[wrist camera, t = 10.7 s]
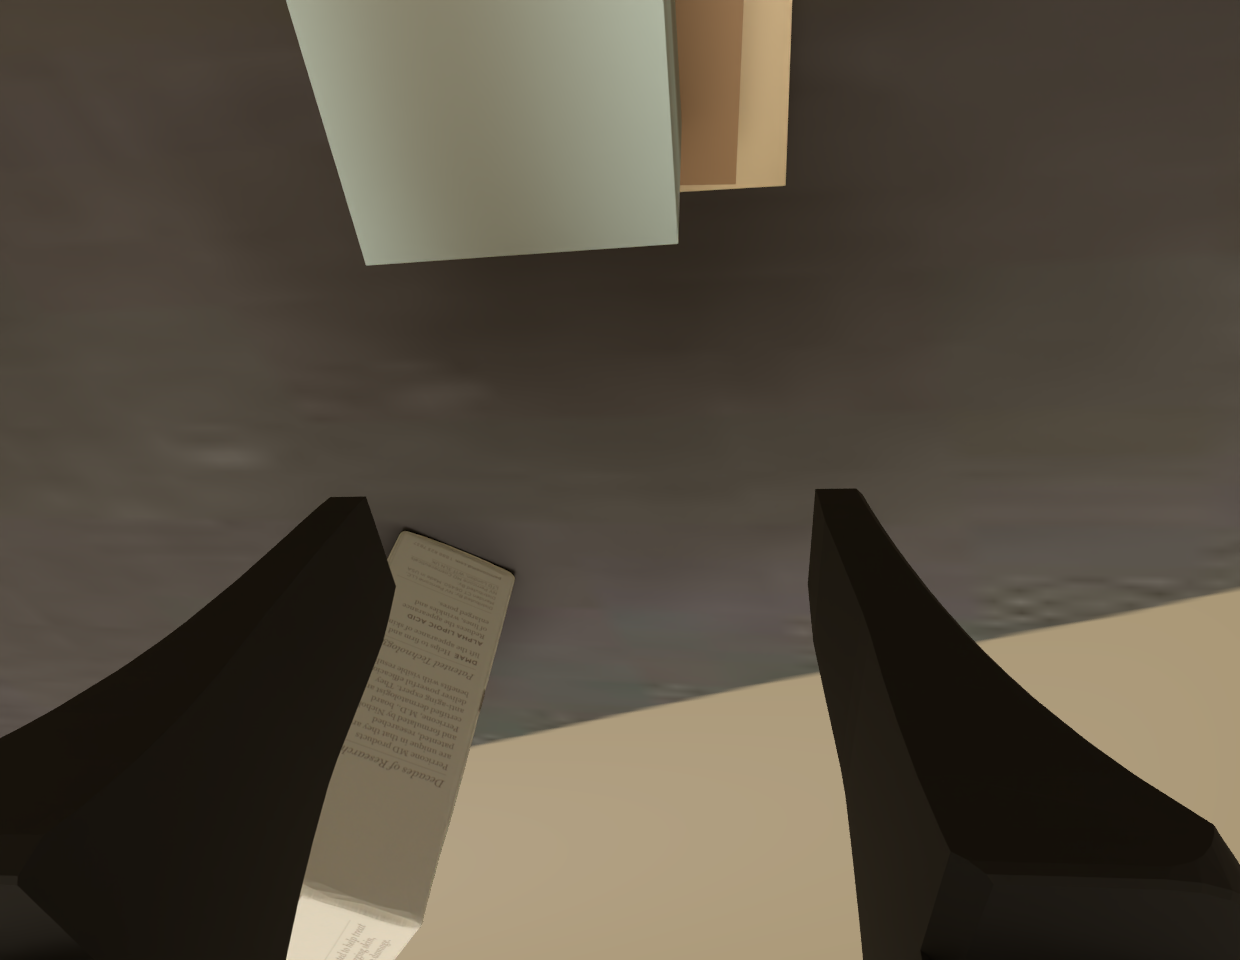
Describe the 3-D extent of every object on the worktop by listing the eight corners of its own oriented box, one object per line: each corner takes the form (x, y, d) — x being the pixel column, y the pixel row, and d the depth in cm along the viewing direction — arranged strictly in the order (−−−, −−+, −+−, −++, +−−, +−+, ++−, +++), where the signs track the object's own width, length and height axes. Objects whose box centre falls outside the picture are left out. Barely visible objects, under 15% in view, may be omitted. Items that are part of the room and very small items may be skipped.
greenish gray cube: (665, -173, 12) (654, -163, 8) (681, 124, 14) (677, 243, 10) (390, -138, 12) (251, -112, 8) (451, 143, 15) (365, 265, 11)
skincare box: (462, 667, 32) (364, 1026, 23) (347, 627, 31) (195, 984, 22) (522, 565, 29) (437, 939, 19) (395, 515, 28) (239, 884, 18)
